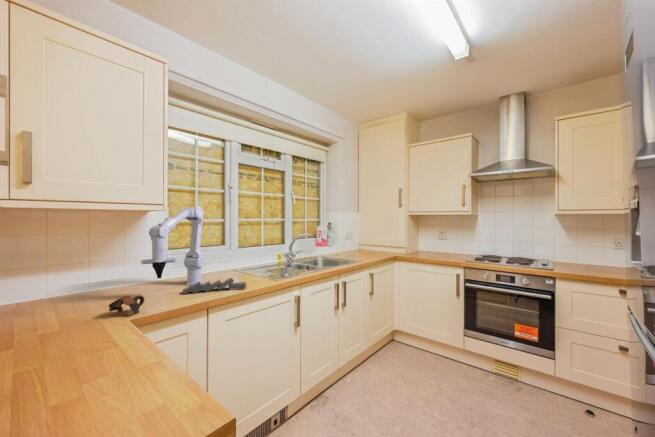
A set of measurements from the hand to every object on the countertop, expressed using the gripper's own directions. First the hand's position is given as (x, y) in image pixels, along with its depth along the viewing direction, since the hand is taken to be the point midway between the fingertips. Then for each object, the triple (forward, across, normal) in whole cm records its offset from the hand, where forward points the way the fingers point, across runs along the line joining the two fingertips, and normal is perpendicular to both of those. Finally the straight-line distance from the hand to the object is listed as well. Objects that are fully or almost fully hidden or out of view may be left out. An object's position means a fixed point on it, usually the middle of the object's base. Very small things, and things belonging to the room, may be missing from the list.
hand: (159, 278), depth 137 cm
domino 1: (+8, +10, 0) cm, 13 cm away
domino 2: (+8, +15, 0) cm, 17 cm away
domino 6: (+8, +32, 0) cm, 33 cm away
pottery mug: (+9, -7, -23) cm, 26 cm away
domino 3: (+8, +20, 0) cm, 22 cm away
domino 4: (+8, +26, 0) cm, 27 cm away
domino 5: (+7, +32, 0) cm, 33 cm away
